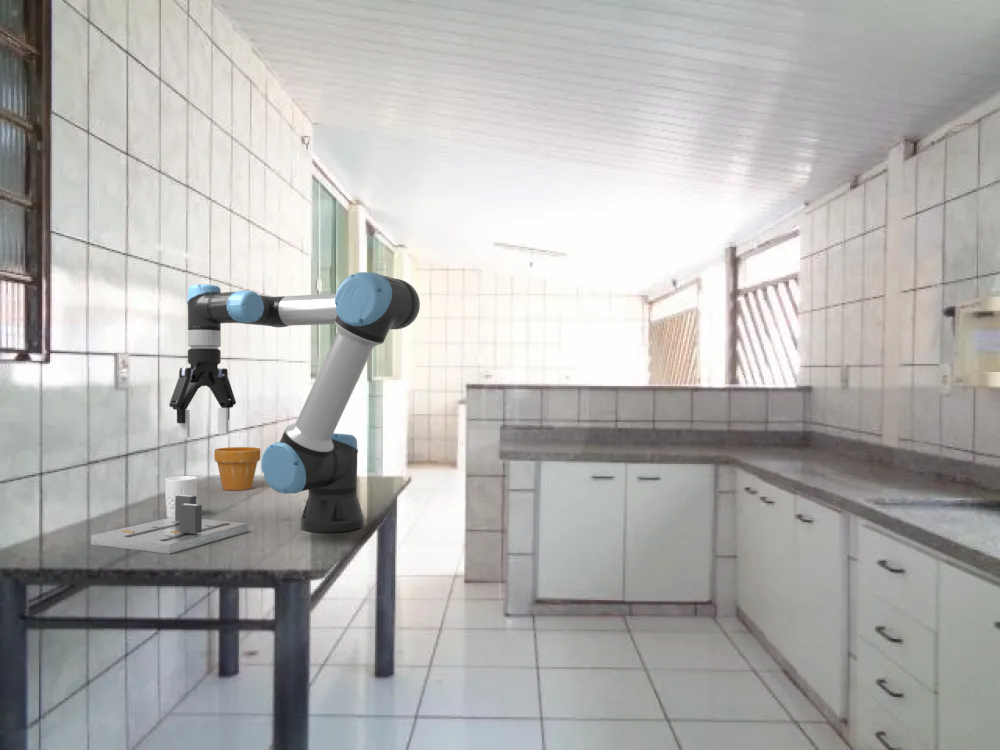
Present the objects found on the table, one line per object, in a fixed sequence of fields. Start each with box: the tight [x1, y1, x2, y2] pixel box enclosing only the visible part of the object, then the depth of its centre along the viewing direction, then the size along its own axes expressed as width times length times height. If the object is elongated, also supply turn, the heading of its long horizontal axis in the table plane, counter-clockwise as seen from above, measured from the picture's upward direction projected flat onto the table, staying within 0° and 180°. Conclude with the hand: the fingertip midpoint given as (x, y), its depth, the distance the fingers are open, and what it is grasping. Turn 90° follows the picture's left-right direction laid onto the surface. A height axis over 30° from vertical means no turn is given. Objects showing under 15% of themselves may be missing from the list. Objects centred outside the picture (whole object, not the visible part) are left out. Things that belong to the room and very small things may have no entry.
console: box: [90, 517, 249, 555], centre depth 169 cm, size 22×24×2 cm
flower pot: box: [214, 446, 261, 491], centre depth 243 cm, size 14×14×13 cm
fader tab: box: [175, 495, 197, 522], centre depth 177 cm, size 4×2×6 cm, turn 69°
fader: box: [179, 503, 203, 534], centre depth 165 cm, size 4×2×6 cm, turn 69°
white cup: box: [164, 475, 198, 518], centre depth 195 cm, size 8×8×10 cm
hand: (204, 435), depth 182 cm, fingers open, 12 cm apart
